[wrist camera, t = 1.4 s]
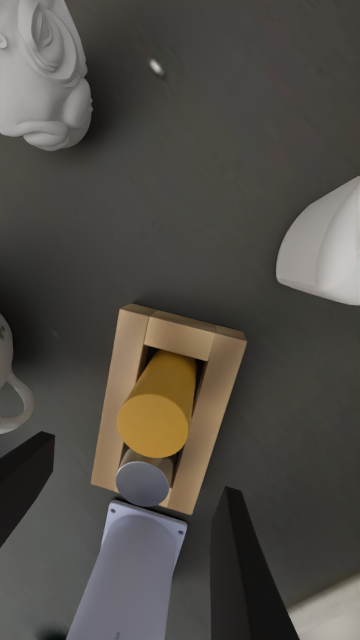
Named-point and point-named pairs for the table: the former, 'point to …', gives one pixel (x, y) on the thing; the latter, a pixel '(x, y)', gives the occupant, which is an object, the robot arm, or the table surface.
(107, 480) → the peg stand
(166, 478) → the steel peg
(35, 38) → the frog figurine
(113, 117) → the table surface
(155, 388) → the yellow peg
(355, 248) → the eye dropper bottle
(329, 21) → the table surface
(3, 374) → the teacup
